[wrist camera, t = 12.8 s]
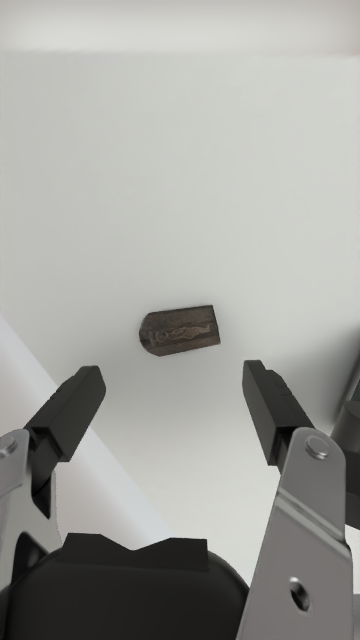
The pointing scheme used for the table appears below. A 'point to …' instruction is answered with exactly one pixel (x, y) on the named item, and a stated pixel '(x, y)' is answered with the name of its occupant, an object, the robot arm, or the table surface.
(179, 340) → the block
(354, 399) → the drawer
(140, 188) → the table surface
